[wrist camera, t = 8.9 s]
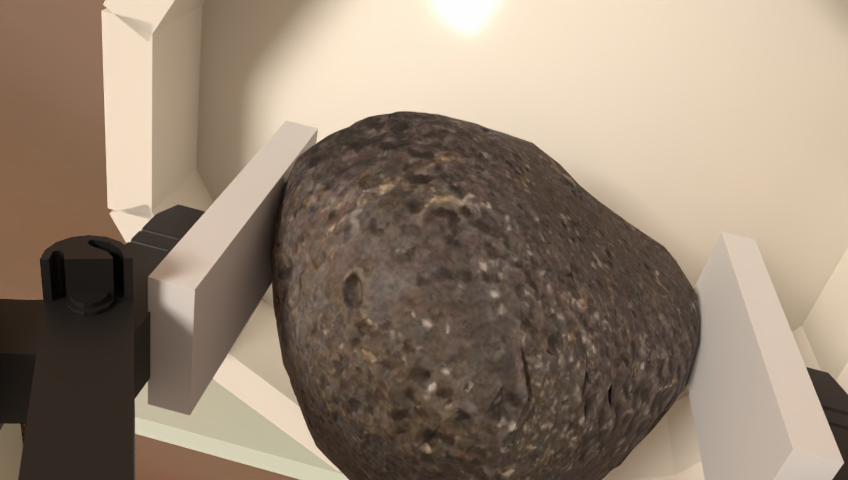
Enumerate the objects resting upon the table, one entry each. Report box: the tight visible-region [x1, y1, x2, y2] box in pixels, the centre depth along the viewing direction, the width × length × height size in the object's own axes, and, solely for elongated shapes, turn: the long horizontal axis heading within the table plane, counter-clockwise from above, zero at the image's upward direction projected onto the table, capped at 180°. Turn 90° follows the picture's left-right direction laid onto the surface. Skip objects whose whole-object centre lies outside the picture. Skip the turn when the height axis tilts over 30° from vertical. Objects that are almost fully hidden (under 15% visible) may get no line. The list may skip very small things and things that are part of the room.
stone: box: [270, 111, 700, 480], centre depth 17 cm, size 10×8×10 cm
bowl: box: [102, 0, 848, 480], centre depth 19 cm, size 20×20×4 cm
